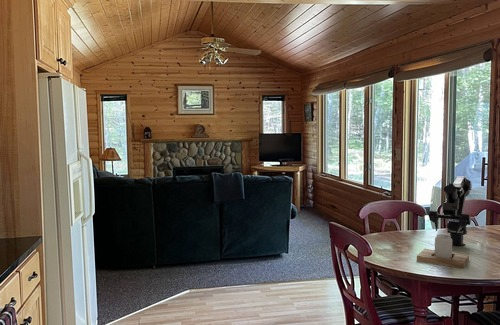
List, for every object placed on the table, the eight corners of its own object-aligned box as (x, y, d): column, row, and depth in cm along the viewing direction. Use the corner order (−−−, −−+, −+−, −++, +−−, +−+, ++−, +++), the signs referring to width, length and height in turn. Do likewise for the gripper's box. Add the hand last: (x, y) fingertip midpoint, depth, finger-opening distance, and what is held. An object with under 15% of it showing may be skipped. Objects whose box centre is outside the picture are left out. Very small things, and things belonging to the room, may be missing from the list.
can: (453, 263, 195) (454, 237, 195) (436, 262, 197) (436, 237, 196) (449, 258, 203) (449, 233, 202) (432, 257, 204) (433, 233, 203)
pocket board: (424, 253, 211) (424, 248, 211) (468, 260, 199) (468, 255, 199) (416, 260, 199) (416, 255, 199) (463, 268, 187) (463, 262, 187)
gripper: (429, 194, 213) (423, 219, 205) (470, 197, 202) (465, 224, 194) (432, 207, 220) (427, 232, 212) (472, 211, 209) (468, 237, 201)
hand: (446, 231), depth 204 cm, fingers open, 9 cm apart
